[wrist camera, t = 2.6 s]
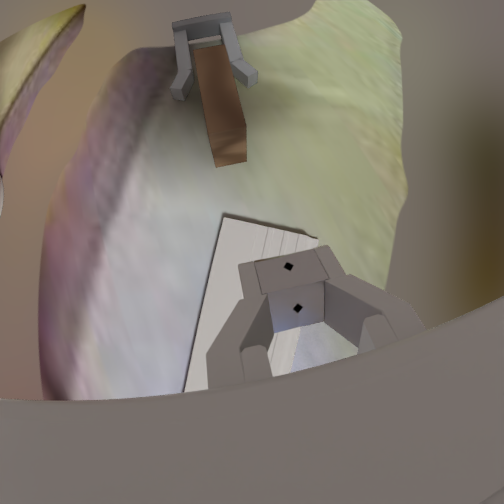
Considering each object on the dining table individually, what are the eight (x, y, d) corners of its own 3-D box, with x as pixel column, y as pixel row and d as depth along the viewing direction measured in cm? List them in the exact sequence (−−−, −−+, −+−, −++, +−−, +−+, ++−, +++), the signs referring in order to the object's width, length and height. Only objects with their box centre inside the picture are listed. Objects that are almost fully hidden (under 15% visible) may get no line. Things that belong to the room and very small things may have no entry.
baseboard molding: (329, 244, 34) (224, 220, 35) (336, 239, 31) (222, 213, 32) (267, 487, 30) (171, 467, 30) (268, 500, 27) (166, 479, 27)
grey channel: (174, 103, 36) (168, 87, 33) (167, 39, 38) (163, 24, 35) (258, 86, 37) (259, 70, 33) (238, 26, 39) (238, 10, 35)
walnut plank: (216, 167, 35) (208, 134, 27) (201, 90, 37) (193, 50, 29) (246, 161, 35) (246, 126, 27) (228, 85, 37) (224, 44, 29)
